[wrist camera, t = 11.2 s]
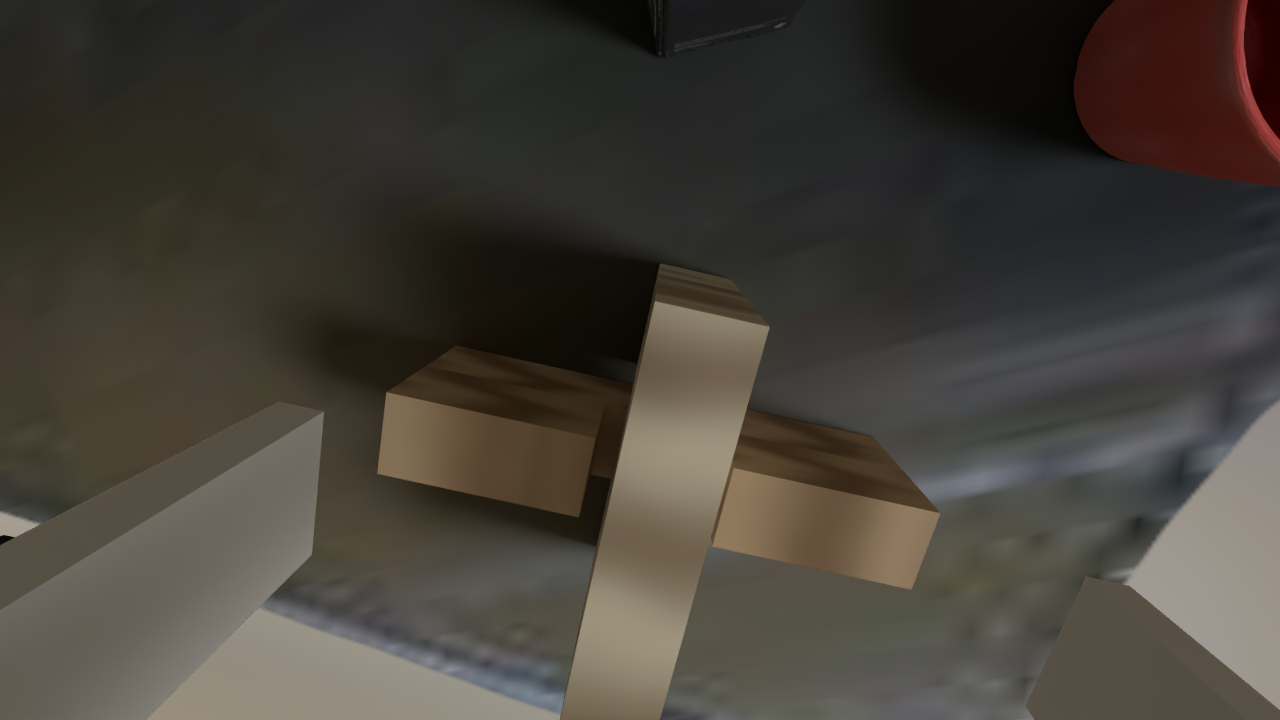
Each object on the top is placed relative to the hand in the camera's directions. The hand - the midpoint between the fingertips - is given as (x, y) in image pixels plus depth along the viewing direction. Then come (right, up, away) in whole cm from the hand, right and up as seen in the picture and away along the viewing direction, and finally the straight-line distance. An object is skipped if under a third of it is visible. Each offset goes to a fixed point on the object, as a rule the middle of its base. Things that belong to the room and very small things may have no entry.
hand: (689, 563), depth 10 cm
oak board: (0, 0, +21) cm, 21 cm away
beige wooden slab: (0, 0, +21) cm, 21 cm away
